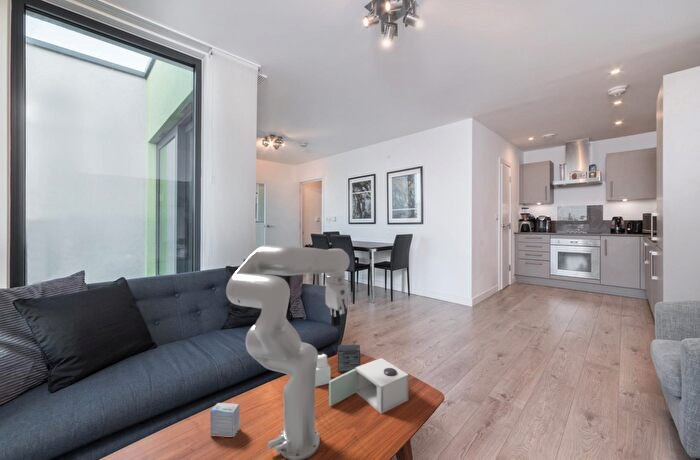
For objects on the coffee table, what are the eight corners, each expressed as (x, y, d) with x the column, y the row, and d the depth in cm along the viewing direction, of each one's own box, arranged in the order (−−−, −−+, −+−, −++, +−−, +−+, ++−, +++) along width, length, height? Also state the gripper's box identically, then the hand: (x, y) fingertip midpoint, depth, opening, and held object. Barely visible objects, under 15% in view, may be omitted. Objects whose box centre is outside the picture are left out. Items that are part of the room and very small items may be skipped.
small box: (360, 365, 135) (360, 344, 134) (360, 372, 128) (360, 350, 128) (338, 365, 135) (338, 344, 134) (337, 372, 128) (337, 350, 128)
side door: (327, 403, 105) (327, 379, 105) (352, 390, 114) (352, 367, 114) (330, 406, 104) (330, 382, 104) (356, 392, 113) (356, 369, 112)
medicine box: (240, 429, 93) (240, 403, 93) (233, 439, 89) (233, 412, 89) (218, 427, 94) (217, 402, 94) (210, 437, 90) (209, 410, 89)
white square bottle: (309, 378, 123) (309, 351, 123) (325, 375, 126) (325, 348, 126) (314, 387, 117) (314, 359, 116) (330, 383, 120) (330, 355, 119)
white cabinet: (381, 413, 101) (381, 384, 100) (355, 391, 114) (355, 366, 113) (408, 399, 108) (408, 372, 108) (381, 380, 122) (381, 356, 121)
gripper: (354, 281, 107) (354, 328, 108) (333, 275, 119) (333, 317, 120) (337, 284, 103) (338, 333, 103) (317, 277, 115) (318, 321, 116)
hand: (335, 325), depth 112 cm, fingers closed
